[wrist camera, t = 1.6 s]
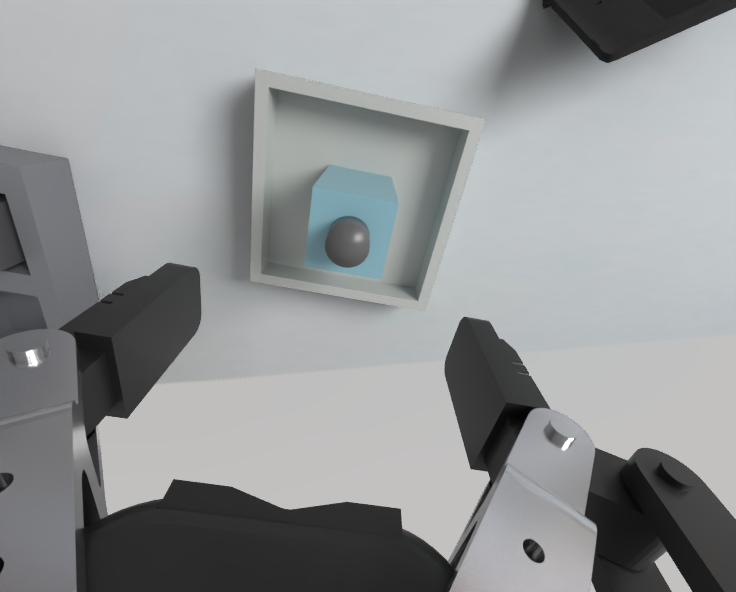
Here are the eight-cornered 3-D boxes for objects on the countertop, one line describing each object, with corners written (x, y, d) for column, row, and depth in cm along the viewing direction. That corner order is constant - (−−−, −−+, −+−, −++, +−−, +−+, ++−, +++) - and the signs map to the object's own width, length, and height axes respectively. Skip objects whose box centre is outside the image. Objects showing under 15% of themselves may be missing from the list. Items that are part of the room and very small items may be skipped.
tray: (269, 73, 20) (255, 68, 18) (472, 118, 21) (486, 119, 18) (261, 264, 26) (249, 281, 23) (420, 292, 27) (425, 311, 24)
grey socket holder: (-65, 133, 22) (-136, 137, 19) (68, 158, 22) (19, 166, 19) (12, 335, 29) (-30, 362, 26) (109, 350, 30) (79, 377, 27)
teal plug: (329, 164, 22) (307, 193, 14) (391, 177, 22) (401, 211, 14) (322, 225, 23) (298, 278, 16) (379, 235, 24) (381, 293, 16)
